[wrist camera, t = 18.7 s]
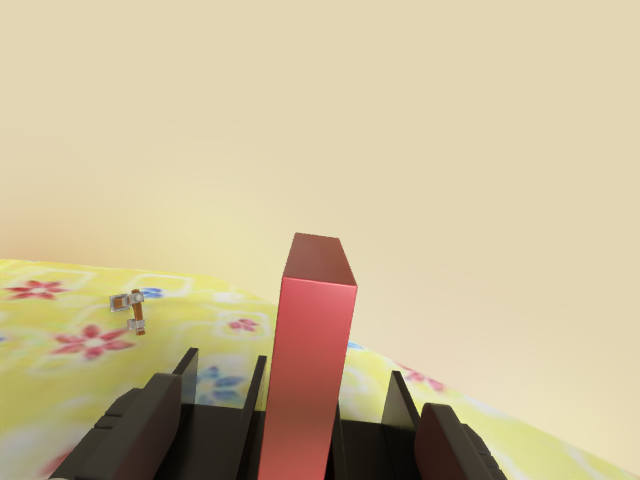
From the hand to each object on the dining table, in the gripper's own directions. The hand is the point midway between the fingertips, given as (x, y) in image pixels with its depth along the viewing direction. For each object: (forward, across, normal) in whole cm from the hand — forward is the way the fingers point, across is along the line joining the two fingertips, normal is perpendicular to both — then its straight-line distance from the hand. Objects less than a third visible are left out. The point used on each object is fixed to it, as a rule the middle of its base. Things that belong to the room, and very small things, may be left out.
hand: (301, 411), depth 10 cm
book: (+5, 0, +10) cm, 11 cm away
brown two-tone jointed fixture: (+23, +18, +11) cm, 31 cm away
